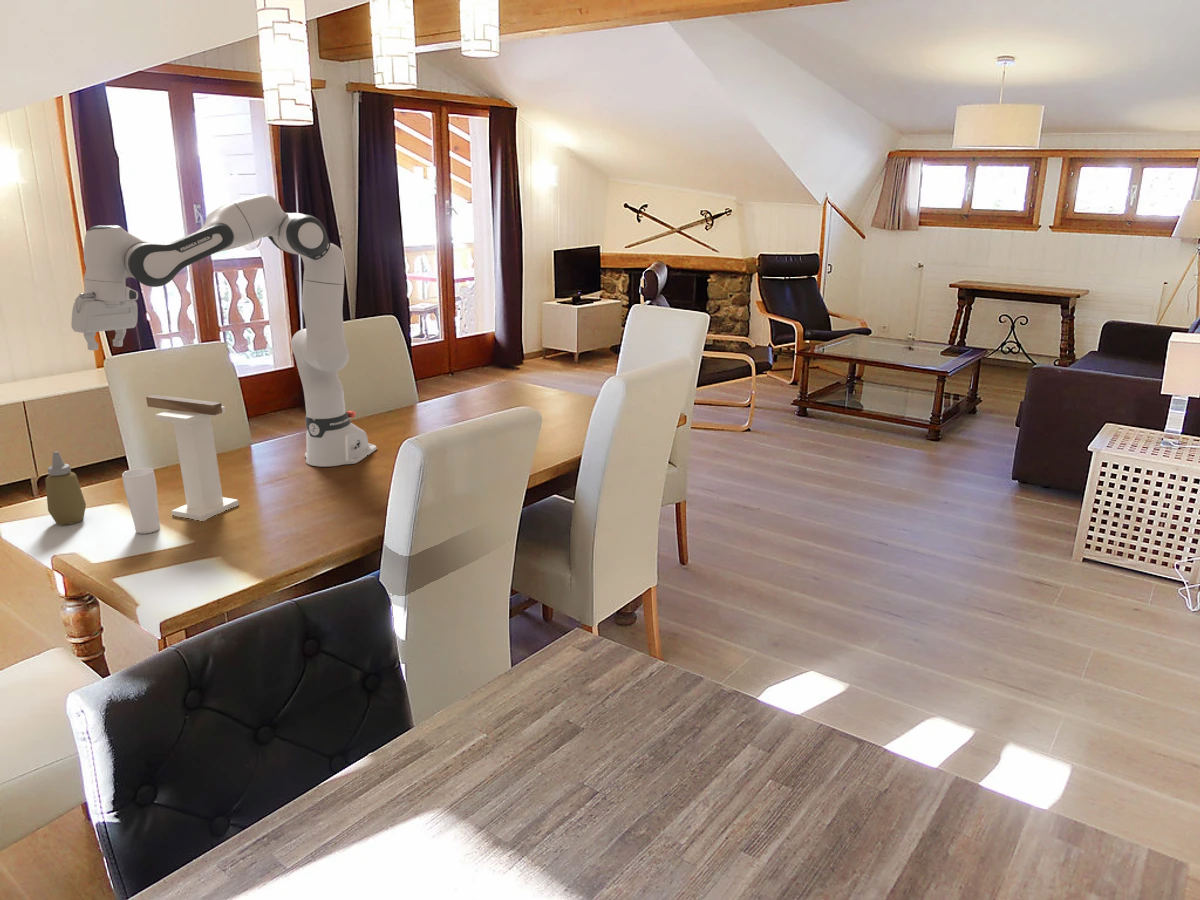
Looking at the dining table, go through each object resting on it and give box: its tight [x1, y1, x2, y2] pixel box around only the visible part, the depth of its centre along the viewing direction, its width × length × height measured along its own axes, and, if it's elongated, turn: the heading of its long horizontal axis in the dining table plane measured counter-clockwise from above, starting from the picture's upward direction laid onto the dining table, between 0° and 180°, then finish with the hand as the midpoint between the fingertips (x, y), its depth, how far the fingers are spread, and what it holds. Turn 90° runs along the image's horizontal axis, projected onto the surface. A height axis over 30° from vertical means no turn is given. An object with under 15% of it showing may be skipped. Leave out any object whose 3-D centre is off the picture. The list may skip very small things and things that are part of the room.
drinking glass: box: [121, 467, 161, 535], centre depth 205 cm, size 7×7×15 cm
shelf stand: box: [155, 405, 240, 522], centre depth 216 cm, size 12×10×26 cm
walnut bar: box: [145, 394, 224, 416], centre depth 212 cm, size 2×22×2 cm, turn 68°
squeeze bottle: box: [44, 451, 87, 526], centre depth 211 cm, size 8×8×18 cm
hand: (105, 348), depth 214 cm, fingers open, 8 cm apart
